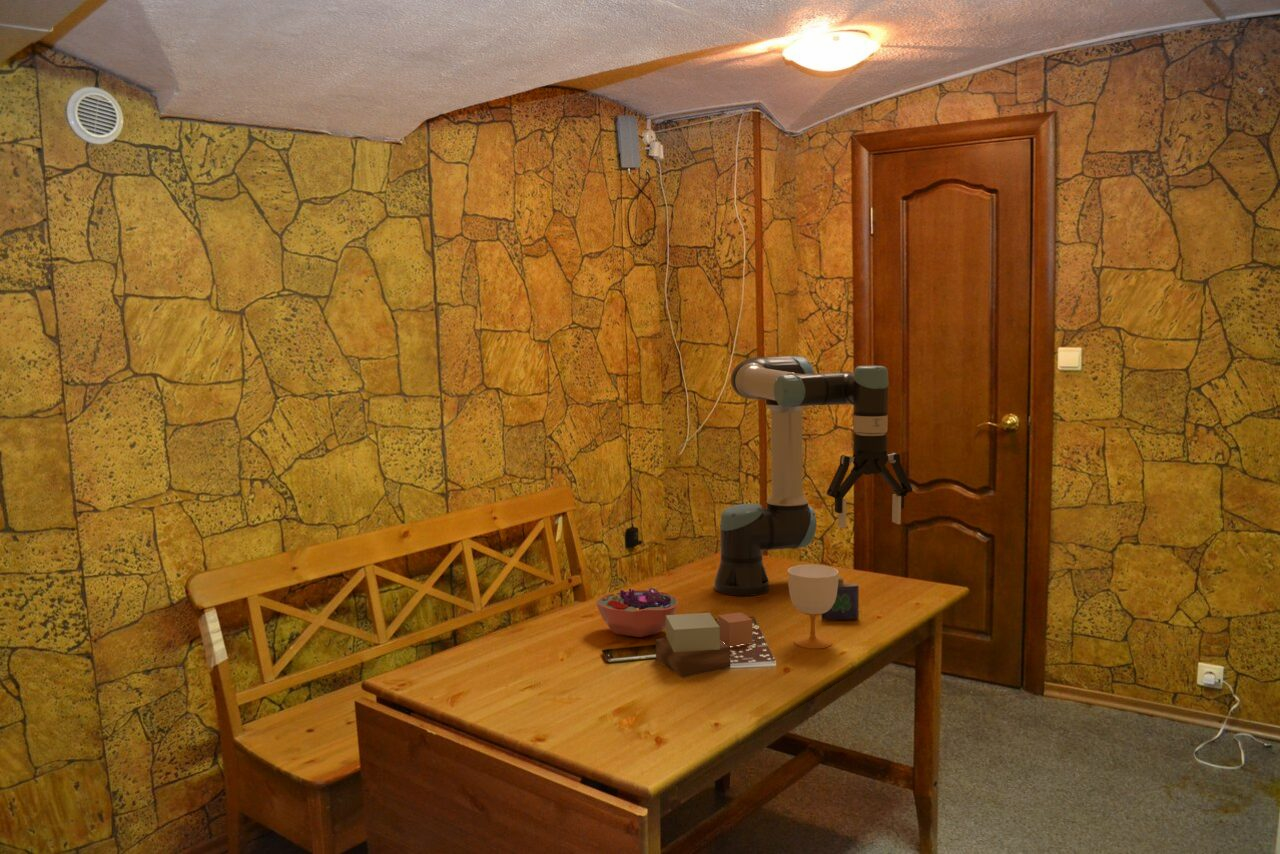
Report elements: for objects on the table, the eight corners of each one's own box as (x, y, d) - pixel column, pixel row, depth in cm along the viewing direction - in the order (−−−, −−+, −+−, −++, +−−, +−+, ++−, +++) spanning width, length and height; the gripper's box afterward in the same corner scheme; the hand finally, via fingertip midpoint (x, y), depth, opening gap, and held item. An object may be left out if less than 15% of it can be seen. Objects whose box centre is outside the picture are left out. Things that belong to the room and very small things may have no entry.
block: (718, 640, 220) (717, 615, 219) (740, 636, 222) (740, 612, 221) (729, 648, 214) (729, 622, 213) (752, 644, 216) (752, 619, 215)
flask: (857, 617, 234) (857, 576, 233) (859, 621, 231) (860, 579, 230) (820, 617, 235) (820, 576, 233) (822, 621, 232) (822, 579, 230)
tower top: (666, 636, 208) (665, 615, 208) (709, 634, 210) (709, 612, 209) (673, 652, 198) (673, 629, 198) (719, 649, 200) (719, 626, 199)
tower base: (656, 661, 207) (655, 639, 207) (702, 652, 213) (702, 630, 212) (682, 679, 197) (681, 656, 196) (730, 669, 202) (730, 646, 201)
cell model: (606, 620, 235) (605, 577, 234) (684, 624, 231) (683, 580, 230) (589, 643, 219) (587, 596, 217) (672, 647, 215) (672, 600, 213)
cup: (848, 641, 217) (848, 569, 215) (820, 654, 208) (821, 580, 207) (805, 630, 225) (805, 561, 223) (777, 643, 216) (777, 571, 215)
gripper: (826, 437, 206) (825, 531, 208) (928, 433, 211) (926, 524, 214) (812, 434, 213) (812, 524, 216) (912, 429, 219) (910, 518, 221)
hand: (869, 525), depth 215 cm, fingers open, 13 cm apart
